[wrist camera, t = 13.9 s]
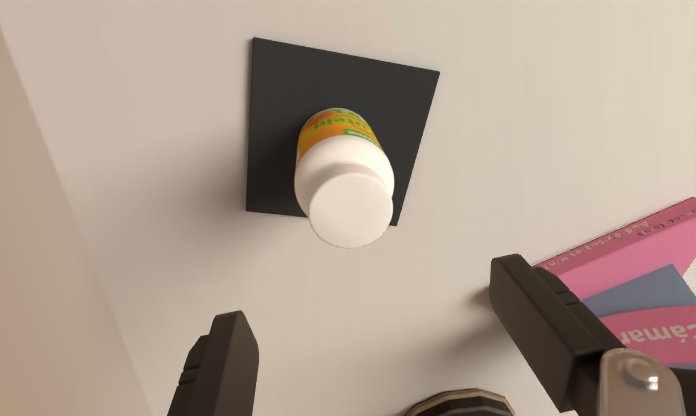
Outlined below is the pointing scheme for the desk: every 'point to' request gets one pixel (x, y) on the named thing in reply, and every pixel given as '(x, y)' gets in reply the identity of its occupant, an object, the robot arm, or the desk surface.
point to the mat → (320, 94)
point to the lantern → (464, 404)
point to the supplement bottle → (343, 179)
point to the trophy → (641, 283)
